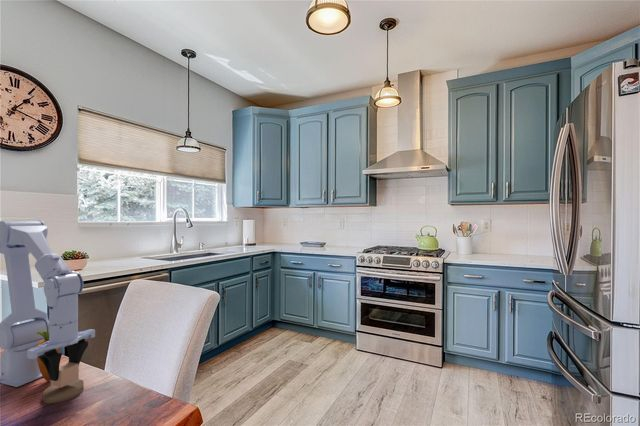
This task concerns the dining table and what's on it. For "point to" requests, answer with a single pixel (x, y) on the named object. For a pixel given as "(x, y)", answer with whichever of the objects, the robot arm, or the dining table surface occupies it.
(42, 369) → the carrot
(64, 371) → the tan block
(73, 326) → the robot arm
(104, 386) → the dining table surface
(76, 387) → the olive round dish
